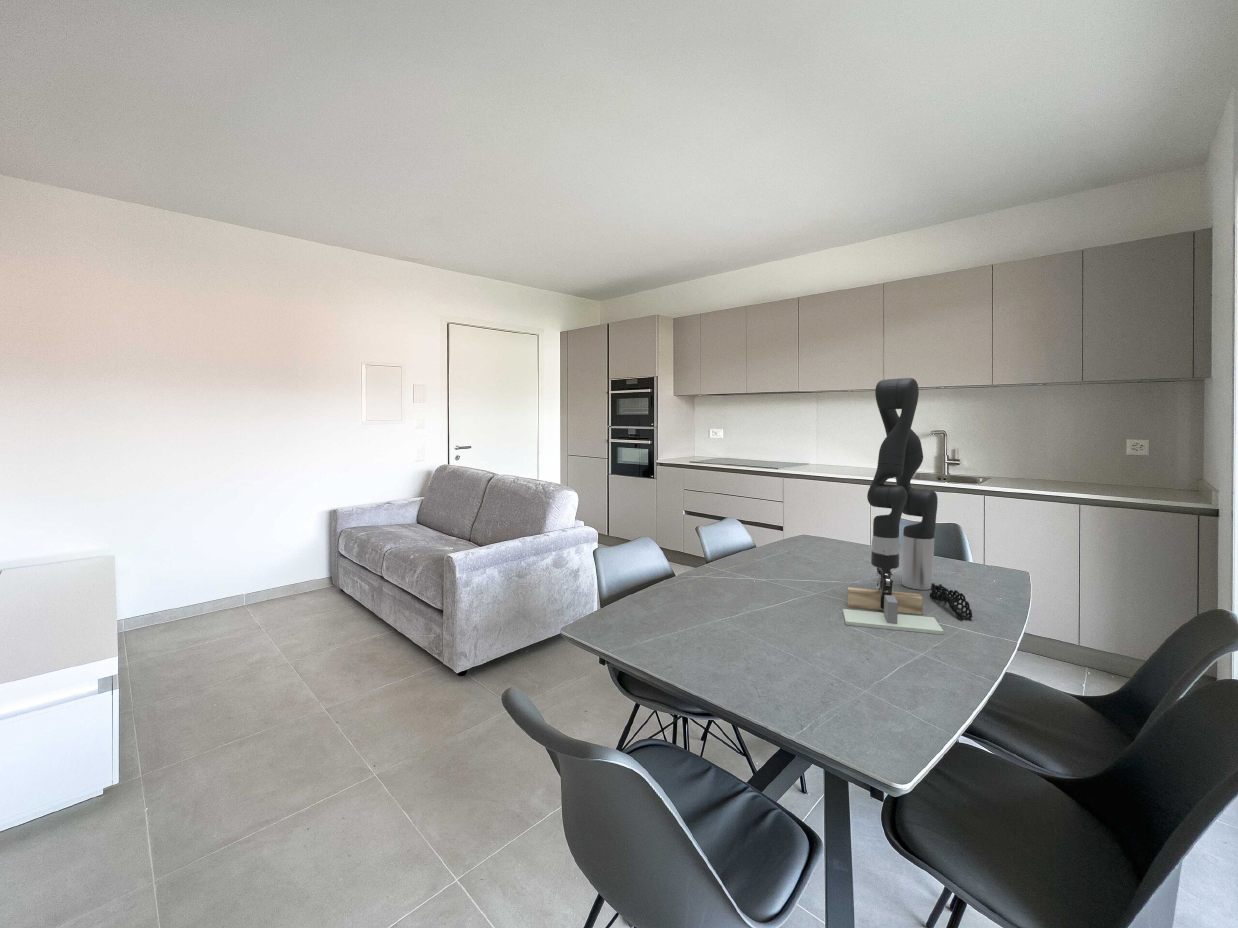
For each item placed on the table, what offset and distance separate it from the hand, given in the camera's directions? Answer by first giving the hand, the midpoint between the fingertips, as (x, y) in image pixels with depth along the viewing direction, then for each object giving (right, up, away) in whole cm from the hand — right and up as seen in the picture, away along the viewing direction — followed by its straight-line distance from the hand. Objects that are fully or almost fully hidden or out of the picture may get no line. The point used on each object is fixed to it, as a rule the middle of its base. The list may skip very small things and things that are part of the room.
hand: (883, 605), depth 162 cm
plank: (0, -1, 0) cm, 1 cm away
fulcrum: (-4, -2, -11) cm, 12 cm away
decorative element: (+20, -1, +1) cm, 20 cm away
